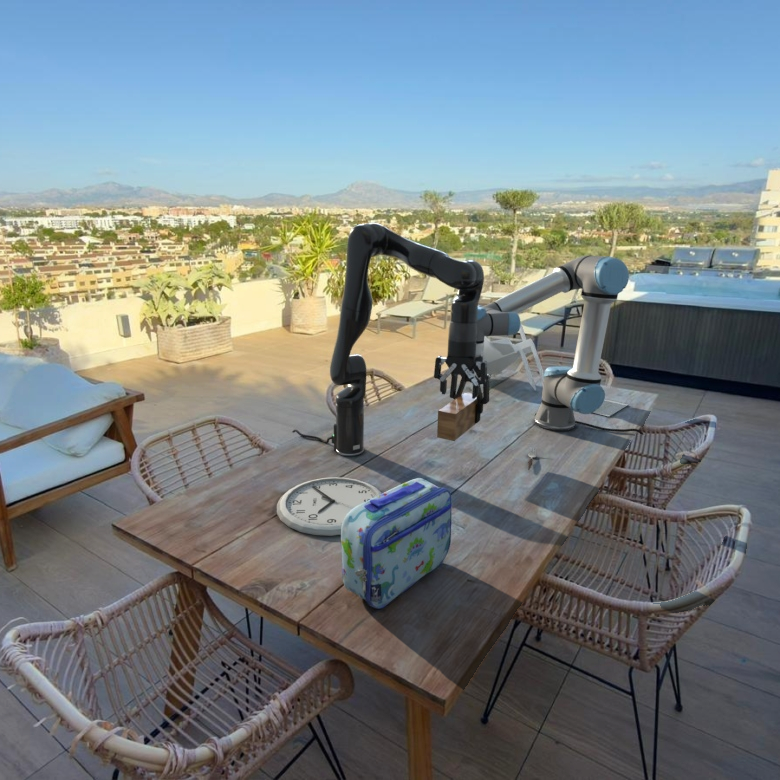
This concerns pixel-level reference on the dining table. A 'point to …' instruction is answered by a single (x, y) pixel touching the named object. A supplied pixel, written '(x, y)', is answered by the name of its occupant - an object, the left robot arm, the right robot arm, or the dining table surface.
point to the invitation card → (609, 408)
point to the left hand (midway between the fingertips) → (459, 395)
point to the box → (456, 417)
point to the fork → (531, 457)
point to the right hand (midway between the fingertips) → (467, 419)
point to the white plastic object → (510, 355)
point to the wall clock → (323, 504)
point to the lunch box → (395, 540)
